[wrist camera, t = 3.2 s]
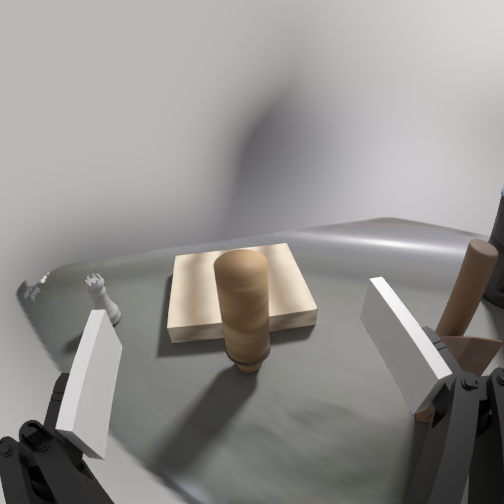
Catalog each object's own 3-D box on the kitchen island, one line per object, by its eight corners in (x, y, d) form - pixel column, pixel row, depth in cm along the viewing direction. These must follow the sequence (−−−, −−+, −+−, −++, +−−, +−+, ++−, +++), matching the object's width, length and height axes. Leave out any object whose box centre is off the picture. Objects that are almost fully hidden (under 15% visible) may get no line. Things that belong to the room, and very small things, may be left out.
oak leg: (266, 345, 38) (263, 246, 30) (274, 377, 33) (274, 276, 25) (226, 351, 37) (211, 252, 29) (230, 383, 33) (213, 283, 25)
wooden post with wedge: (414, 422, 25) (490, 301, 16) (418, 353, 33) (465, 234, 24) (441, 424, 24) (525, 307, 14) (442, 357, 32) (493, 240, 23)
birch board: (286, 257, 56) (286, 243, 54) (315, 324, 40) (317, 308, 39) (178, 269, 54) (175, 255, 52) (172, 343, 38) (167, 327, 37)
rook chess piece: (122, 308, 45) (107, 267, 41) (121, 326, 41) (103, 285, 37) (98, 312, 44) (81, 272, 40) (95, 330, 40) (76, 290, 36)
